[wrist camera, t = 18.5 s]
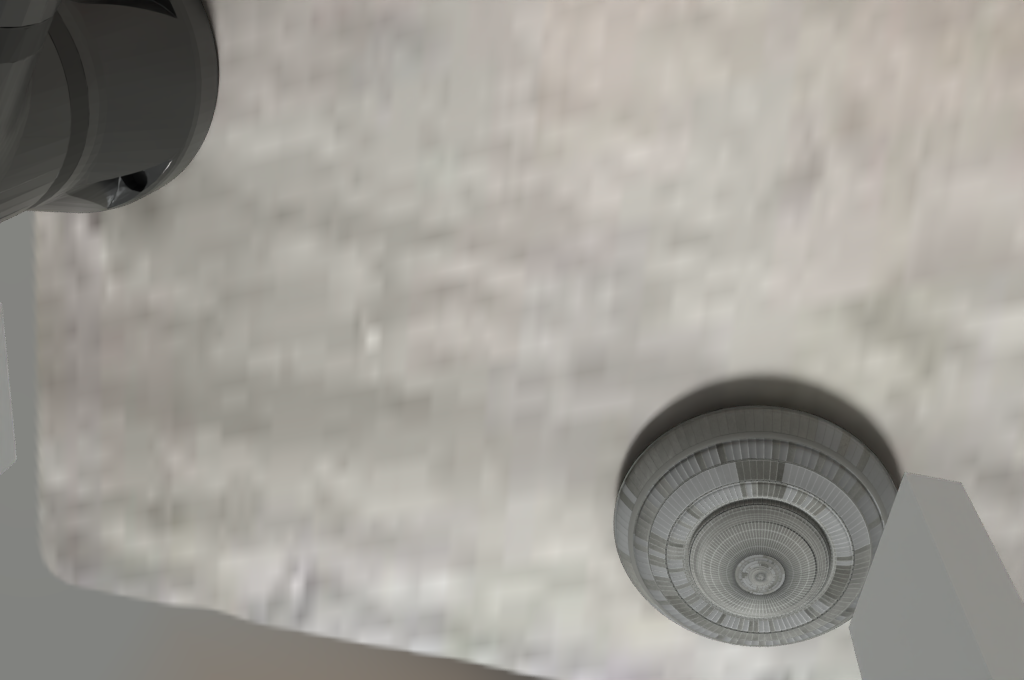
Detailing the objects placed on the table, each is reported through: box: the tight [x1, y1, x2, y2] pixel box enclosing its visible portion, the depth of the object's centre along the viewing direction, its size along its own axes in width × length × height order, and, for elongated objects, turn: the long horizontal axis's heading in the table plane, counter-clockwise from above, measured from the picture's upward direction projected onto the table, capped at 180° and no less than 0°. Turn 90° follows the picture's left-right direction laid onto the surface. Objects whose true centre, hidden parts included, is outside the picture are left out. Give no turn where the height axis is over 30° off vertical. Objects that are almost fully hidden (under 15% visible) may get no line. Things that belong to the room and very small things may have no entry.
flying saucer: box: [614, 406, 897, 647], centre depth 51 cm, size 15×15×6 cm
